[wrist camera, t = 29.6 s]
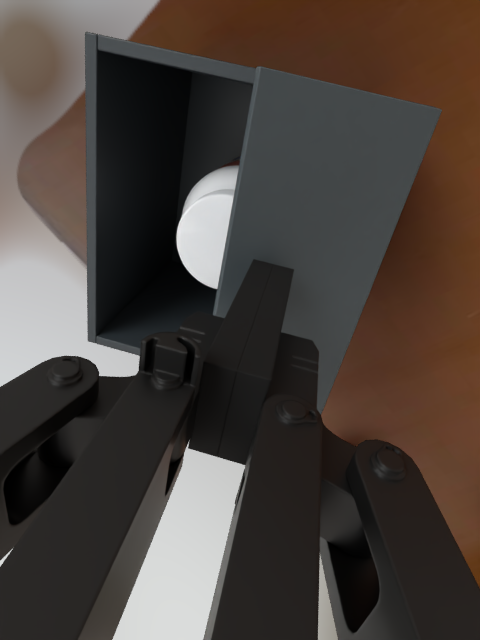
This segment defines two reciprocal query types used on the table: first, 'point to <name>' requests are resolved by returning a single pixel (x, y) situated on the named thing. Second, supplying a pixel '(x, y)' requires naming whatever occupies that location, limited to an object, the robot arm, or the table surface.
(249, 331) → the robot arm
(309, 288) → the bin flap
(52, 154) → the table surface
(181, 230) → the pill bottle
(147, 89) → the waste bin
